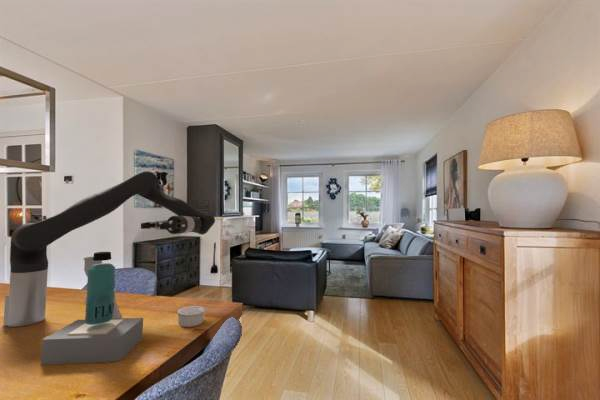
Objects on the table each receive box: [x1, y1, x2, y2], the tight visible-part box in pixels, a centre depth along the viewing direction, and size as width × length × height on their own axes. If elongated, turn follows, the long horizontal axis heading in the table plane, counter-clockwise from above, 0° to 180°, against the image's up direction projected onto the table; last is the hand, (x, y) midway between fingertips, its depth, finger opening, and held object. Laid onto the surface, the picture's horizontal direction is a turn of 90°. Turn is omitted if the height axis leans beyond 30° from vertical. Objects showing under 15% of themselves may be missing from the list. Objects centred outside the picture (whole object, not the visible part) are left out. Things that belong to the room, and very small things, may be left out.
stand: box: [40, 317, 144, 366], centre depth 76 cm, size 18×13×6 cm
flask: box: [112, 289, 123, 319], centre depth 97 cm, size 7×7×10 cm
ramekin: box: [177, 305, 206, 328], centre depth 96 cm, size 9×9×4 cm
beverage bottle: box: [84, 251, 116, 325], centre depth 76 cm, size 6×7×20 cm
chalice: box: [83, 256, 103, 303], centre depth 118 cm, size 7×7×18 cm
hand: (150, 226), depth 103 cm, fingers open, 8 cm apart
